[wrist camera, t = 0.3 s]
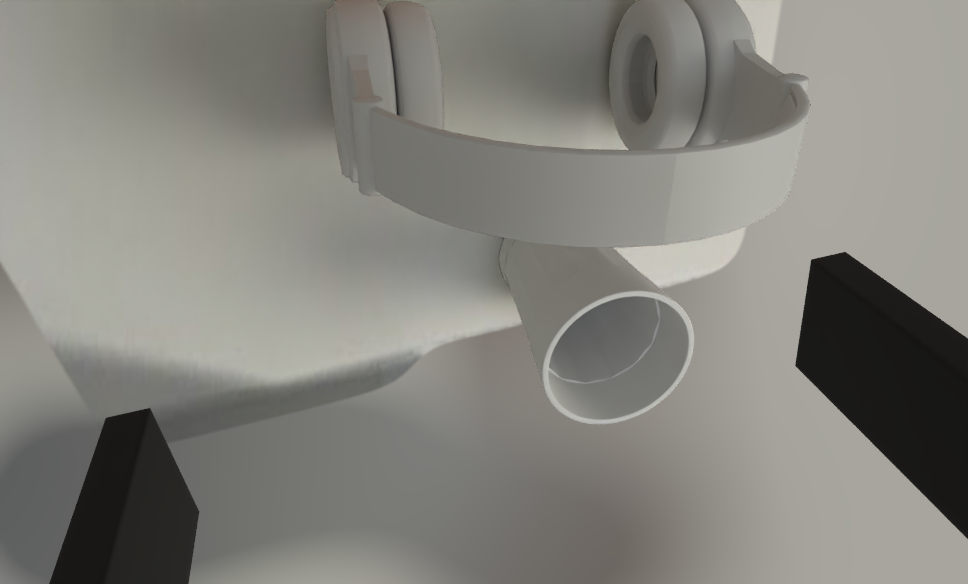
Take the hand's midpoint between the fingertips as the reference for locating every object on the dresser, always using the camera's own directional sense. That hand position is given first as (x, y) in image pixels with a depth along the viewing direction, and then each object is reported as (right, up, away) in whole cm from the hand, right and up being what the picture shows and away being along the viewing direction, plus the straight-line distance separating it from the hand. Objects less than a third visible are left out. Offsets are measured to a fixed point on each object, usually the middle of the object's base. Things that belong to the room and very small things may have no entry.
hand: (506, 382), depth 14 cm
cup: (+4, +4, +32) cm, 32 cm away
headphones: (+1, +14, +25) cm, 29 cm away
